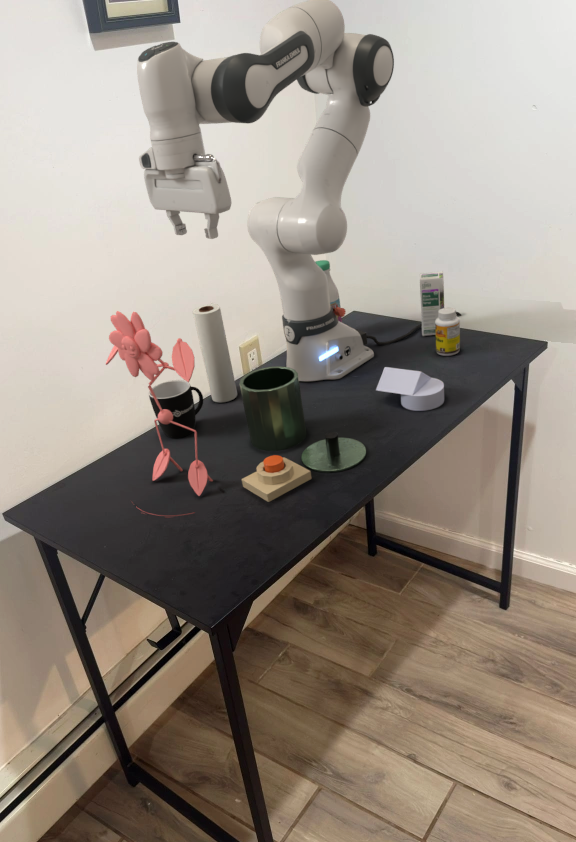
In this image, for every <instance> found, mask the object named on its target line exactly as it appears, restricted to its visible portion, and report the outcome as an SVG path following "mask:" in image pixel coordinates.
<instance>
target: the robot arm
mask: <svg viewBox="0 0 576 842" xmlns="http://www.w3.org/2000/svg"><path fill="white" fill-rule="evenodd" d="M344 19H345V18H344V16H343V14H342V12H341V10H340V8H339V7H338V6H337V4H335V3H334V1H332V0H305V1H302V2H299V3H297V4H293V5H292V6H290V7H287V8H285V9H284V10H282V11H280V12H278V13H276V14H275V15H274V16H272V18H270V19H269V21H268V22H266V23H265V24H264V26H263V27H262V28H261V32H260V35H259V51H260V52H259V53H260V54H256V53H251V52H241V53H237V54H233V55H230V56H226V57H225V56H224V57H218V58H211V59H204V58H202V57H199V56H196V55H193V54H192V53H190V52H188V51H186V49H184V48H183V47H182V46H181V44H180V43H179V42H178V41H166V42H161V43H160V44H157V45H153V46H151V47H148V48H146V49H145V50H143V51H142V52H141V53H140V55H139V56H138V58H137V63H136V75H137V82H138V89H139V94H140V99H141V100H140V101H141V104H142V108H143V113H144V115H145V116H146V119H147V121H148V124H149V125H148V126H149V140H150V143H151V147H149V148H148V149H147V150H146V151H144V152H143V153H141V154H140V155H139V157H138V162H139V165H140V168H141V169H143V170H144V171H143V179H144V183H145V184H144V185H145V188H146V192H147V195H148V199H149V202H150V204H151V206H152V207H153V208H154V210H159V211H165V213H166V217H167V219H168V220H169V222H170V223H171V225H172V227H173V230H174V234H175V235H176V236H183V235H187V233H188V230H187V225H186V223H183V221H182V218H181V216H180V214H181V212H184V213H197V214H204V218H205V220H207V223H206V228H204V229H203V230H204V233H205V238H206V239H209V240H214V239H217V238H218V237H219V231H218V224H219V219H220V214H223V213H225V212H228V211H230V210H231V207H232V198H231V193H230V189H229V185H228V182H227V178H226V175H225V172H224V169H223V168H222V166H221V163H220V161H218V159H217V158H216V157H215V156H214V155H213V154H212V153H206V149H205V146H204V140H203V135H202V130H201V126H200V125H211V124H215V125H216V124H230V123H232V124H233V123H235V124H253V123H255V122H257V121H258V120H260V119H261V118H262V116H264V114H265V113H266V111H267V110H268V108H269V106H270V105H271V103H272V102H273V100H274V99H275V98H276V96H277V95H278V94H279V93H281V92H282V91H283V90H285V89H286V88H287V87H288V86H290V85H291V84H293V83H294V82H295V81H297V84H298V86H299V87H300V88H301V89H302V90H304V91H307V92H308V93H311V94H315V95H319V94H321V95H322V94H323V95H327V98H326V105H325V108H324V110H323V111H322V113H321V114H320V116H319V118H318V119H317V121H316V123H315V124H314V127H313V129H312V130H311V133H310V135H309V137H308V139H307V142H306V144H305V146H304V147H303V150H302V152H301V153H300V156H299V158H298V160H297V165H296V170H297V173H298V177H299V179H300V181H301V182H302V184H301V188H300V191H299V193H298V195H297V196H296V197H281V196H273V197H268V198H265V199H262V200H258V201H257V202H255V203H254V204H253V205H252V207H251V208H250V209H249V212H248V215H247V219H246V226H247V231H248V234H249V237H250V238H251V240H252V241H253V242H254V243H255V244H256V245H257V246H258V247H259V248H260V249H261V251H262V252H263V254H264V256H265V257H266V260H267V261H268V263H269V265H270V268H271V269H272V272H273V274H274V277H275V280H276V283H277V286H278V291H279V297H280V302H281V308H282V315H281V321H282V329H283V333H284V337H285V340H286V341H285V342H286V364H285V367H289V368H292V369H294V370H295V371H296V372H297V373H298V378H299V382H316V381H323V380H339V379H342V378H343V377H345V376H346V375H348V374H349V373H351V372H352V371H354V370H355V369H357V368H359V367H360V366H362V365H363V364H364V363H366V362H368V361H369V360H371V359H373V358H374V357H375V353H374V350H373V349H372V348H370V347H368V346H366V345H368V339H370V340H372V341H373V342H374V344H376V345H377V346H385V345H390V344H394V343H396V342H399V341H401V340H403V339H405V338H408V337H409V336H411V335H412V334H413V333H415V332H416V331H417V330H419V329H420V328H422V323H420V324H417V325H416V326H415V327H413V328H412V329H411V330H410V331H408V332H407V333H405V334H403V335H401V336H399V337H396V338H394V339H391V340H389V341H378V339H377V338H376V337H375V336H374V335H369V334H368V333H367V332H365V331H363V330H360V329H358V328H356V329H355V328H353V327H351V326H349V325H347V324H345V323H344V322H342V323H341V322H340V321H338V319H337V317H336V316H340V317H342V318H343V317H345V315H346V312H347V311H346V309H345V307H341V306H340V307H341V308H340V307H337V308H336V309H334V307H331V306H330V299H329V290H328V281H327V277H326V274H325V273H324V271H323V270H322V269H321V268H320V267H319V266H318V265H317V264H316V263H315V262H316V261H315V259H314V258H313V256H319V255H326V254H331V253H334V252H336V251H338V250H339V249H340V248H341V247H342V245H343V243H344V242H345V240H346V237H347V233H348V221H347V216H346V214H345V212H344V210H343V208H342V195H343V190H344V187H345V184H346V183H347V180H348V178H349V175H350V173H351V171H352V169H353V166H354V164H355V162H356V160H357V158H358V156H359V153H360V151H361V150H362V147H363V144H364V141H365V138H366V136H367V133H368V128H369V125H370V121H371V110H370V107H371V106H372V105H374V104H375V103H377V101H378V100H379V99H380V97H381V95H382V94H383V93H384V92H385V91H386V89H387V88H388V86H389V83H390V81H391V79H392V76H393V74H394V69H395V57H394V52H393V49H392V46H391V44H390V42H389V41H388V40H387V39H385V38H384V37H382V36H380V35H376V34H373V33H367V34H362V33H356V32H355V33H354V32H346V31H345V30H346V29H345V28H346V26H345V25H346V24H345V20H344ZM456 316H457V317H461V316H462V314H461V313H460V312H458V311H456Z"/></svg>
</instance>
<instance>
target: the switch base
mask: <svg viewBox="0 0 576 842" xmlns="http://www.w3.org/2000/svg"><path fill="white" fill-rule="evenodd" d="M282 458H283V461H284V469H283V470H281V471H279V472H275V473H267V472H266V471H265V468H264V463H263V461H261V462H260V463H259V464H258V465H257V466H256V469H255V470H256V471H254V472H252V473H251V474H249V475H247V476H245V477H243V478H241V484H242V488H244V489H246V490H248V491H250V492H251V493H252V494H254V495H256V496H257V497H259V498H261V499H263V500H264V501H266V502H267V503H270V502H272V501H273V500H275V499H277V498H279V497H281V496H283V495H284V494H286V493H289V492H290V491H292V490H293V489H295V488H297V487H299V486H301V485H303V484H305V483H306V482H308V481H310V480H312V479H313V478H312V472H311V471H312V470H310V469H308V468H307V467H305V466H302V465H300V464H298V463H297V462H294V461H292V460H290V459H289V458H286V457H282Z"/></svg>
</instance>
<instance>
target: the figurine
mask: <svg viewBox="0 0 576 842" xmlns="http://www.w3.org/2000/svg"><path fill="white" fill-rule="evenodd" d="M130 315H131V316H130V320H129V318H128V317H127V315H125V314H124V313H122V312H121V311H119V310H116V312H115V314H112V315H111V316H110V322H111V323H112V325H113V327H114V328H115V329H116V330H112V331H111V332H110V333H109V335H108V340H109V342H110V343H111V344H112V345H113V347H112V349H111V351H110V353H109V355H108V357H107V359H106V362H105V365H106V366H108V365H109V363H111V362H112V361H113V359H114V358H115V357H116V355H117V354H118V356H119V358H120V359H121V360H122V361H123V362H125V364H126V368H127V370H128V372H129V373H130V375H131V376H132V377H134V378H137V377H139V375H140V372H141V373H142V374H143V375H144V376H145V377H146V378H147V379H148V380H150V381H149V382H148V386H147V389H148V390H149V391H150V392H151V394H152V396H153V398H154V399H155V401H156V403H157V405H158V407H159V409H160V412H159V414H158V418H155V419H154V421H153V422H154V425H155V429H156V433H157V436H158V439H159V443H160V446H161V451H160V452H159V454H158V455H157V457H156V459H155V460H154V461H155V462H154V464H153V469H152V482H156V481H157V480H159V479H160V478H161V477H163V475H164V473H165V472H166V471H167V470H168V469H167V468H168V466H169V464H170V462H171V463H172V464H173V465H174V466H175V467H176V468H177V470H178V471H180V472H183V470H184V469H183V468H182V467H181V466H180V465H179V464H178V463H177V462H176V460H174V458H173V457H171V450H170V449H169V448H165V447H164V444H163V440H162V437H161V433H160V429H159V426H158V420H159V421H160V422H161V423H162V424H169V423H173V424H175V425H178V426H181V427H183V428H186V429H188V430H191V431H193V432H194V450H195V451H194V452H195V453H194V454H195V460H194V461H192V462H190V465H189V469H188V474H187V480H188V482H189V485H190V488H191V489H193V492H194V493H195V494H196V495H197V496H198V497H200V496H201V495H202V493H203V492H204V491H205V488H206V487H207V484H208V481H209V482H211V483H212V482H214V480H213V478H212V477H211V476H210V475H209V474H208V470H207V467H206V465H205V464H204V461H201V460H200V459H199V458H198V455H199V454H198V432H197V430H196V429H195V428H194V429H191V428H189V427H186V426H183V425H181V424H178V423H176V422H173V421H172V420H173V414H172V413H171V411H169V410H167V409H164V410H162V408H161V406H160V404H159V402H158V400H157V398H156V396H155V394H154V392H153V389H152V388H153V387H152V385H153V384H154V383H155V382H156V380H157V379H158V378H159V377H160V376H161V374H162V373H163V372H164V371H165V370H166V369H168V370H171V371H175V372H176V374H177V375H178V376H179V377H181V378H182V380H183V381H187V382H188V383H190V381H191V379H192V376H193V373H194V370H195V366H196V365H195V364H196V363H195V354H194V351H193V349H192V348H191V347H190V345H189V344H188V343H187V342H186V341H183V339H182V338H181V337H179V338H177V340H176V343H175V344H174V346H172V352H171V362H172V363H171V364H172V366H171V365H170V364H169V363H168V362H167V361H166V362H165V361H164V360H163V359H162V356H163V353H164V351H163V350H162V348H161V347H160V346H159V345H158V344H156V343H154V342H153V341H152V337H151V334H150V331H149V330H148V329H147V328H146V327H145V323H144V321H143V320H142V317H141V316H140V314H138V312H136V311H133V312H131V314H130ZM157 361H158V362H159V363H156V362H157ZM160 368H161V369H160ZM131 503H132V504H134V502H133V501H131ZM137 509H138V510H140V511H141V512H142V514H144V515H145V514H149V515H152V516H159V517H164V519H166V518H167V519H169V518H170V517H178V516H181V514H175V515H172V514H171V515H167V516H166V515H163V514H156V513H150V512H147V511H144V510H142V509H140V508H139V507H137ZM195 513H196V512H194V511H193V512H190V513H184V514H182V516H188V515H192V514H195Z"/></svg>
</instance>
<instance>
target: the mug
mask: <svg viewBox="0 0 576 842" xmlns="http://www.w3.org/2000/svg"><path fill="white" fill-rule="evenodd" d="M152 389H153V392H154V394H155V396H156V398H157V400H158V402H159V404H160V406H161V408H162V410H164V409H167V410H169V411H171V413H172V414H173V420H172V421H173V422H176V423H178V424H181V425H183V426H186V427H189V428H191V429H194V430H195V428H196V416H197V415H198V414H199V412H200V411H201V409H202V408H203V406H204V405H203V404H204V396H203V393H202V391H201V390H200V389H199V388H198V387H196V386H191V384H190V382H187V381H186V380H184V379H173V380H168V381H164V382H161V383H158V384H156V385H155V386H153V387H152ZM193 391H194V392H196V393H197V396H198V404H197V407H196V408H195V401H194V395H193ZM148 397H149V402H150V404H151V407H152V409H153V412H154V415H155V417H156V418H155V419H157V418H158V414H159V412H160V409H159V407H158V405H157V403H156V401H155V399H154V398H153V396H152V394H151V392H150V390H149V392H148ZM157 424H158V425H159V427H160V429H161V430H162V432H163V434H164V435H165V436H166V437H168V438H171V439H180V438H184V437H187V436H189V435H190V434H192V433H193V432H194V431H191V430H188V429H186V428H183V427H181V426H178V425H175V424H173V423H169V424H162V423H161V422H160V421H159V420H158V421H157Z"/></svg>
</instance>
